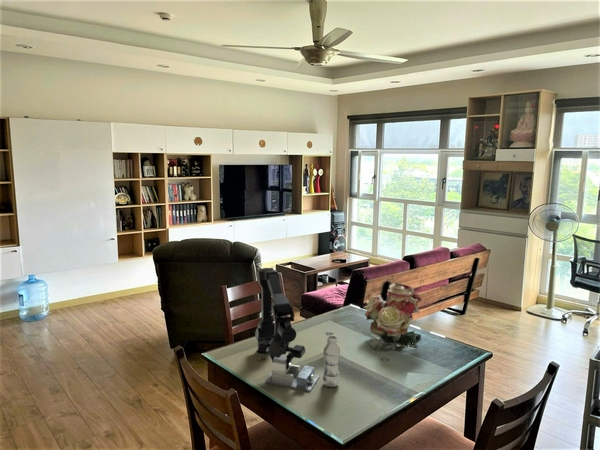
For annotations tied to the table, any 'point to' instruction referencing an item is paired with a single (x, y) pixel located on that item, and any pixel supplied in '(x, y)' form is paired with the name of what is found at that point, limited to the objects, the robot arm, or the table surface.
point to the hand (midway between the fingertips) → (281, 367)
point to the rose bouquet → (393, 319)
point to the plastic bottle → (331, 362)
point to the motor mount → (295, 378)
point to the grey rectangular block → (280, 364)
